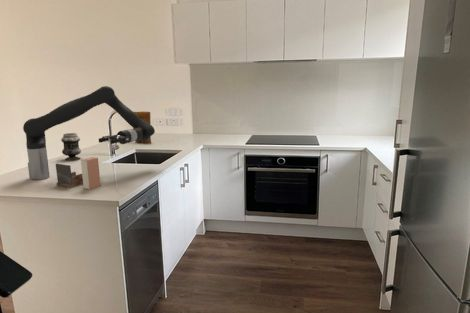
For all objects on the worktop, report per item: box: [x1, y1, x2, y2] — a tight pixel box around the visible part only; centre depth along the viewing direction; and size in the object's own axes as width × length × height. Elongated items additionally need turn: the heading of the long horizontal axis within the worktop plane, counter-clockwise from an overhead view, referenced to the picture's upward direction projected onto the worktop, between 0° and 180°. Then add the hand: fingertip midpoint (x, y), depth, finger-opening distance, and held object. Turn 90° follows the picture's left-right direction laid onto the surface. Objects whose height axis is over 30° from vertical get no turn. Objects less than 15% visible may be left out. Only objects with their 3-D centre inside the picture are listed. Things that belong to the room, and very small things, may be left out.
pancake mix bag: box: [132, 111, 152, 145], centre depth 294 cm, size 7×19×28 cm, turn 73°
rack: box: [55, 163, 83, 189], centre depth 178 cm, size 12×10×12 cm
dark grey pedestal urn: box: [60, 132, 82, 162], centre depth 234 cm, size 12×12×18 cm
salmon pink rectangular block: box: [80, 156, 101, 190], centre depth 172 cm, size 7×4×15 cm, turn 155°
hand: (105, 141), depth 178 cm, fingers open, 8 cm apart
